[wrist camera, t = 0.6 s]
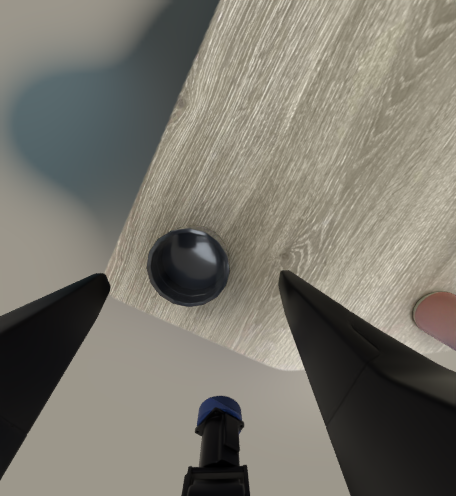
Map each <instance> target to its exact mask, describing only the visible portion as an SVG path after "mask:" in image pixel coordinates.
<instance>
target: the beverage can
mask: <svg viewBox="0 0 456 496" xmlns="http://www.w3.org/2000/svg"><path fill="white" fill-rule="evenodd" d="M413 318H414V321H415V323H416V324H417V326H418V327H419V328H420V329H421V330H423V331H424V332H426V333H428V334H429V335H431V336H432V337H434V338H436V339H437V340H439V341H441V342H442V343H444V344H445V345H447V346H449V347H450V348H452V349H454V350H455V351H456V295H454V294H452V293H448V292H436V293H431V294H428V295H426V296H424V297H423V298H421V299H420V300H419V301H418V302H417V303H416V305H415V307H414V310H413Z"/></svg>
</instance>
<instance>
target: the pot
mask: <svg viewBox="0 0 456 496" xmlns="http://www.w3.org/2000/svg"><path fill="white" fill-rule="evenodd" d="M147 271H148V275H149V279H150V283H151V284H152V286H153V287H154V288H155V290H156V291H157V292H158V293H159V295H160V296H162V297H163V298H165V299H166V300H168V301H170V302H171V303H173V304H177V305H181V306H186V307H192V306H199V305H204V304H206V303H208V302H209V301H211V300H213V299H215V298H217V297H218V295H219V294H220V293H221V291H222V290H223V289H224V288H225V286H226V284H227V280H228V276H229V272H230V266H229V257H228V251H227V247H226V245H225V243H224V242H223V240H222V239H221V238H220V236H219V235H217V234H216V233H215V232H214V231H212V230H210V229H208V228H206V227H203V226H198V225H189V226H184V227H179V228H177V229H174V230H172V231H170V232H168V233H167V234H165V235H164V236H162V237H160V238H159V239H158V240H157V241H156V243H155V244H154V246H153V247H152V249H151V250H150V252H149V255H148V262H147Z"/></svg>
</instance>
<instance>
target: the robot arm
mask: <svg viewBox="0 0 456 496" xmlns="http://www.w3.org/2000/svg"><path fill="white" fill-rule="evenodd" d="M278 286H279V291H280V295H281V299H282V304H283V308H284V312H285V315H286V318H287V321H288V324H289V327H290V329H291V332H292V335H293V338H294V340H295V343H296V346H297V349H298V351H299V354H300V357H301V360H302V363H303V365H304V368H305V371H306V373H307V376H308V379H309V382H310V385H311V387H312V390H313V393H314V396H315V398H316V401H317V404H318V407H319V409H320V412H321V415H322V417H323V420H324V423H325V425H326V426H327V427H326V429H327V432H328V434H329V437H330V440H331V443H332V445H333V448H334V451H335V454H336V457H337V459H338V462H339V465H340V468H341V470H342V473H343V476H344V479H345V481H346V484H347V487H348V489H349V492H350V495H351V496H456V372H454V371H452V370H449V369H447V368H445V367H443V366H441V365H439V364H437V363H435V362H433V361H432V360H430V359H428V358H426V357H425V356H423V355H421V354H420V353H418V352H416V351H415V350H413V349H411V348H409V347H408V346H406V345H404V344H403V343H401V342H399V341H397V340H396V339H394V338H392V337H391V336H389V335H387V334H386V333H384V332H382V331H381V330H379V329H377V328H376V327H374V326H372V325H371V324H369V323H368V322H366V321H365V320H363V319H362V318H360V317H358V316H357V315H355V314H354V313H352V312H350V311H349V310H348V309H346V308H345V307H343V306H342V305H340V304H339V303H337V302H336V301H334V300H333V299H331V298H330V297H328V296H327V295H325V294H324V293H322V292H321V291H319V290H318V289H316V288H315V287H313V286H312V285H310V284H309V283H307V282H306V281H304V280H303V279H301V278H300V277H298V276H297V275H295V274H294V273H292V272H291V271H289V270H282V271H281V272H280V277H279V283H278ZM110 288H111V287H110V284H109V281H108V279H107V277H106V275H105V274H103V273H98V274H97V273H96V274H93V275H91V276H89V277H86V278H84V279H82V280H80V281H77V282H75V283H73V284H71V285H69V286H66V287H64V288H62V289H60V290H58V291H55V292H53V293H51V294H49V295H47V296H44V297H42V298H40V299H38V300H35V301H33V302H31V303H29V304H26V305H24V306H22V307H20V308H18V309H15V310H13V311H11V312H9V313H7V314H4V315H2V316H0V480H1V478H2V476H3V475H4V473H5V471H6V470H7V468H8V466H9V465H10V463H11V461H12V460H13V458H14V456H15V455H16V453H17V451H18V450H19V448H20V446H21V445H22V443H23V441H24V440H25V438H26V436H27V434H28V432H29V431H30V429H31V427H32V426H33V424H34V422H35V421H36V419H37V418H38V416H39V414H40V412H41V411H42V409H43V407H44V406H45V404H46V402H47V401H48V399H49V398H50V396H51V394H52V392H53V391H54V389H55V387H56V386H57V384H58V382H59V381H60V379H61V377H62V376H63V374H64V372H65V371H66V369H67V367H68V366H69V364H70V362H71V361H72V359H73V357H74V356H75V354H76V352H77V351H78V349H79V347H80V345H81V344H82V342H83V341H84V339H85V337H86V336H87V334H88V332H89V331H90V329H91V327H92V326H93V324H94V322H95V321H96V319H97V317H98V315H99V313H100V311H101V309H102V307H103V304H104V302H105V300H106V298H107V296H108V294H109V292H110ZM243 427H244V422H243V421H241V420H239V419H237V418H236V417H234V416H232V415H230V414H228V413H227V412H225V411H223V410H221V409H219V408H217V407H215V408H213V410H212V411H211V412H210V413H209V414H208V415H207V416H206V417H205V418H204V419H203V421H202V422H201V423H200V424H199V425H198V426H197V427H196V428H195V433H196V434H198V435H200V436H202V443H201V452H200V462H199V467H192V466H189V467H188V473H187V474H186V475H185V477H184V484H183V490H182V495H181V496H250V491H249V481H248V470H247V465H243V466H240V465H239V451H240V447H239V432H240V431H241V430H242V428H243Z"/></svg>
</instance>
